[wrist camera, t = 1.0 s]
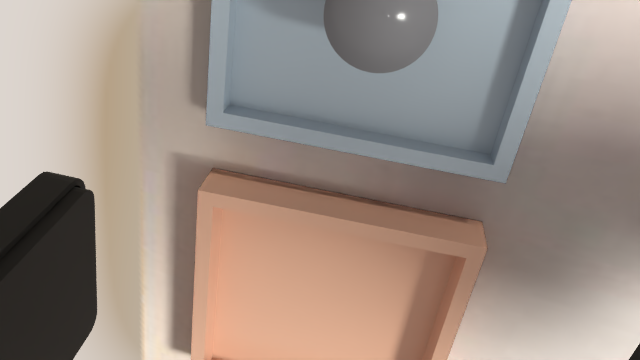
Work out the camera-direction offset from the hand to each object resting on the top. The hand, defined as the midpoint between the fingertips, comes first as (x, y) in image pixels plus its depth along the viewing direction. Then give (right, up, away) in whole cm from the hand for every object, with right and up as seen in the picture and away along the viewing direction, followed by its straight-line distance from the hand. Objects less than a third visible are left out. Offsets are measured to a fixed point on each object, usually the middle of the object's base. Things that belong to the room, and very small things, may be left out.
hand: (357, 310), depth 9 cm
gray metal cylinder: (+3, +12, +20) cm, 24 cm away
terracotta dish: (0, -7, +31) cm, 32 cm away
